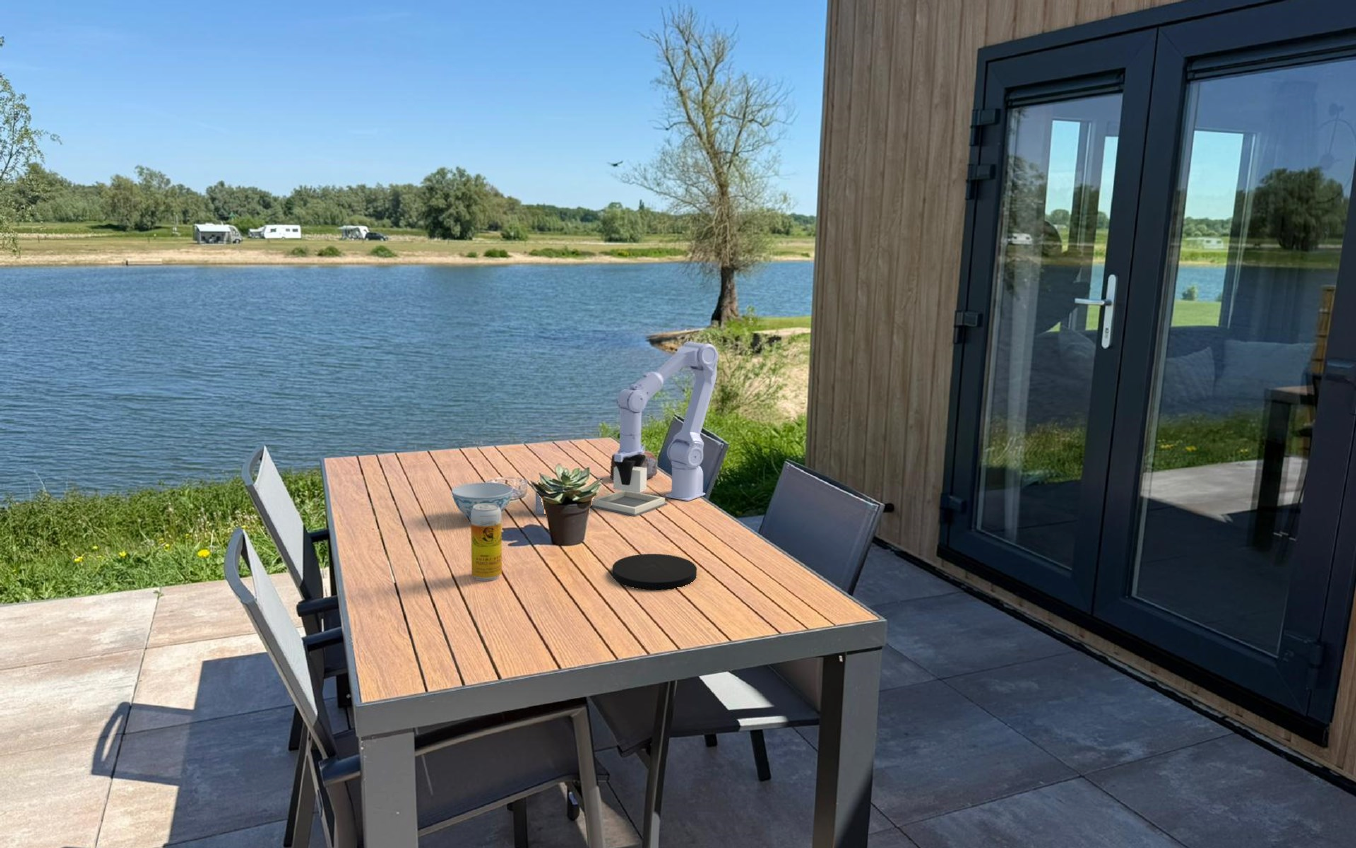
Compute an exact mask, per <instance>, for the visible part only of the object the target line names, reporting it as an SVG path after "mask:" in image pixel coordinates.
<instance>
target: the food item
mask: <svg viewBox="0 0 1356 848" xmlns="http://www.w3.org/2000/svg"><path fill="white" fill-rule="evenodd" d="M640 455H645V456H646V458H645V460H644V462H643V464H642V466H641V467H643V468H647V480H649V479H652V478H653V477H656V476H657V474H658V463H659V462H658V460H659V459H657V457H656V456H655V455H654V453H653V452H652V451H650V450H645V453H644V454H640ZM614 467H616V464H615V463H614V454H612V456H611V461H610V475H609V479H610V480H612V481H614Z"/></svg>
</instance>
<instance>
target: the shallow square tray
mask: <svg viewBox="0 0 1356 848" xmlns="http://www.w3.org/2000/svg"><path fill="white" fill-rule="evenodd" d="M593 500H594V501H593ZM593 500H592V504H591V505H592V507H591V508H593V509H598V508H599V509H600V510H604V511H608V510H609V512H613V513H617V514H622V515H627V516H631V517H637V516H640V515H643V514H645V513H648V512H651V511H654V510H656V508H657V509H659V508H661V507H665V506H667V505H668V502H666V497H662V496H658V495H653V494H652V495H651V494H647V493H643V492H640V493H639V492H631V491H624V490H618V491H616V492H613V493H610V494H607V495H604V496H601V497H597V498H595V499H593ZM664 505H665V506H664Z"/></svg>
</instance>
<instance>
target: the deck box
mask: <svg viewBox="0 0 1356 848" xmlns="http://www.w3.org/2000/svg"><path fill="white" fill-rule="evenodd" d="M647 480H648V479H647V468H643V467H635V466H633V469H632V474H631V481H630V485H622V483H621V478H620V474H619V471H618V468H617V466H616V467H614V480H613V490H618V491H622V490H624V491H631V492H637V493H643V492H644V491H646V490H647Z"/></svg>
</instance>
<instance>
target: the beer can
mask: <svg viewBox="0 0 1356 848" xmlns="http://www.w3.org/2000/svg"><path fill="white" fill-rule="evenodd" d="M470 540H471V541H470V542H471V543H470V544H471V545H470V546H471V551H470V552H471V559H470V560H471V575H472V576H473V578H474V579H475V580H477V581H482V582H483V581H485V582H487V581H488V582H489V580H490V581H495V580H497V579H498V578H499V577H500V575H501V574H502V571H503V570H502V568H503V565H502V564H503V561H502V559H503V558H502V557H503V555H502V551H503V549H502V542H503V541H502V512H501V510H500V508H499V505H497V504H493V503H481V504H477V505H474V506H473V509H472V511H471V521H470Z"/></svg>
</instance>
